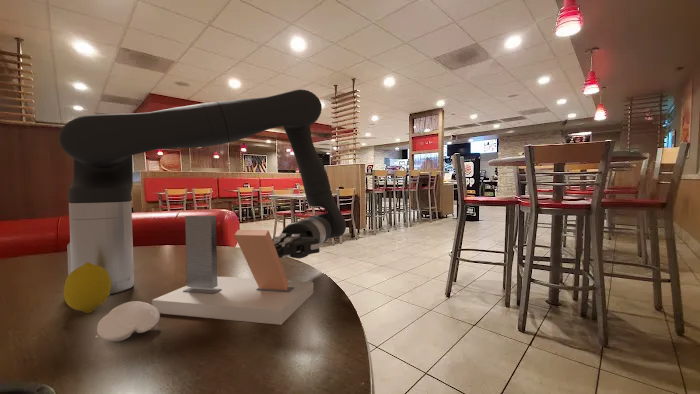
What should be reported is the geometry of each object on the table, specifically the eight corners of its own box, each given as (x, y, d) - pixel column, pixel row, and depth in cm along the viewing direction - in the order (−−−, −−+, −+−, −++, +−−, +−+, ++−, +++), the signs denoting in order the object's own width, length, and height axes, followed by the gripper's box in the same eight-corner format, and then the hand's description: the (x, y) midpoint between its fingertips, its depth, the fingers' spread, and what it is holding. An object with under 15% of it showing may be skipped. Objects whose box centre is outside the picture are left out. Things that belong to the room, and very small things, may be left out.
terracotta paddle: (259, 288, 49) (234, 234, 42) (262, 282, 50) (238, 229, 43) (286, 290, 48) (265, 235, 41) (289, 284, 49) (268, 230, 42)
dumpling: (141, 323, 42) (140, 296, 42) (168, 327, 40) (168, 299, 40) (84, 348, 35) (83, 316, 35) (115, 355, 33) (114, 321, 33)
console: (152, 312, 45) (151, 298, 45) (210, 285, 58) (209, 275, 58) (281, 324, 40) (281, 309, 40) (313, 292, 53) (313, 280, 53)
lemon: (84, 306, 48) (83, 259, 48) (120, 305, 48) (118, 258, 48) (53, 321, 42) (51, 268, 42) (93, 319, 43) (92, 266, 43)
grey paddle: (187, 286, 49) (185, 216, 49) (192, 284, 50) (190, 215, 50) (212, 288, 48) (210, 216, 47) (217, 286, 49) (215, 215, 49)
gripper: (276, 219, 64) (228, 232, 47) (333, 219, 62) (303, 233, 45) (277, 252, 65) (229, 277, 48) (334, 254, 62) (305, 281, 45)
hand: (265, 256), depth 46 cm, fingers closed
